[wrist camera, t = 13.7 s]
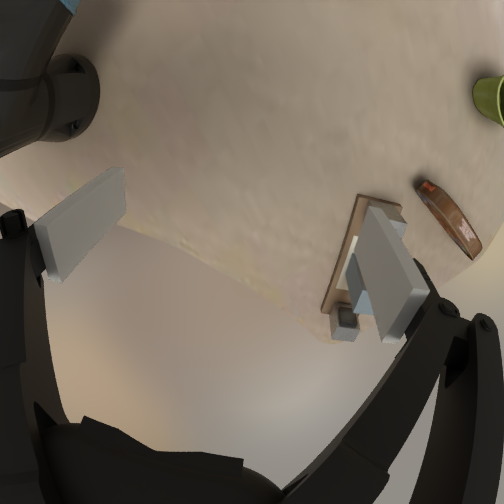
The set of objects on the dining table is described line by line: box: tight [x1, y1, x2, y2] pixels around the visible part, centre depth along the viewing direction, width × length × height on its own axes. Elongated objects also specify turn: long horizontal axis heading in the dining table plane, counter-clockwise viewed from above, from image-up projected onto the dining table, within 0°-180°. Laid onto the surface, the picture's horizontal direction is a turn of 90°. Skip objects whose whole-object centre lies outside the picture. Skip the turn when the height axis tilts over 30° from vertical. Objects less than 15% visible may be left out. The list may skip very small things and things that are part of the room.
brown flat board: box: [321, 194, 402, 316], centre depth 45 cm, size 7×22×1 cm, turn 173°
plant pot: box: [473, 75, 504, 127], centre depth 24 cm, size 9×9×9 cm
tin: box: [416, 180, 482, 261], centre depth 35 cm, size 15×3×8 cm, turn 53°
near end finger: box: [363, 199, 407, 239], centre depth 37 cm, size 4×4×6 cm
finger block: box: [345, 253, 374, 315], centre depth 40 cm, size 4×5×9 cm
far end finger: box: [329, 302, 360, 342], centre depth 47 cm, size 4×4×6 cm
